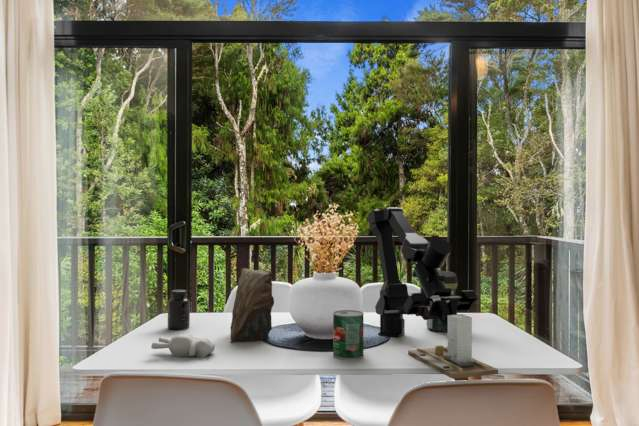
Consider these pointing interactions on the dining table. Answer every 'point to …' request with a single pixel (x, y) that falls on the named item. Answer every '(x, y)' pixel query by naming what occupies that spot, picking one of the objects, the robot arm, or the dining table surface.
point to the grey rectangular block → (460, 341)
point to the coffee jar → (450, 283)
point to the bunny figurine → (186, 345)
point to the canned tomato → (348, 334)
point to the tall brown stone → (252, 307)
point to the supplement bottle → (178, 310)
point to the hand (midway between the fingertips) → (454, 330)
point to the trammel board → (437, 362)
